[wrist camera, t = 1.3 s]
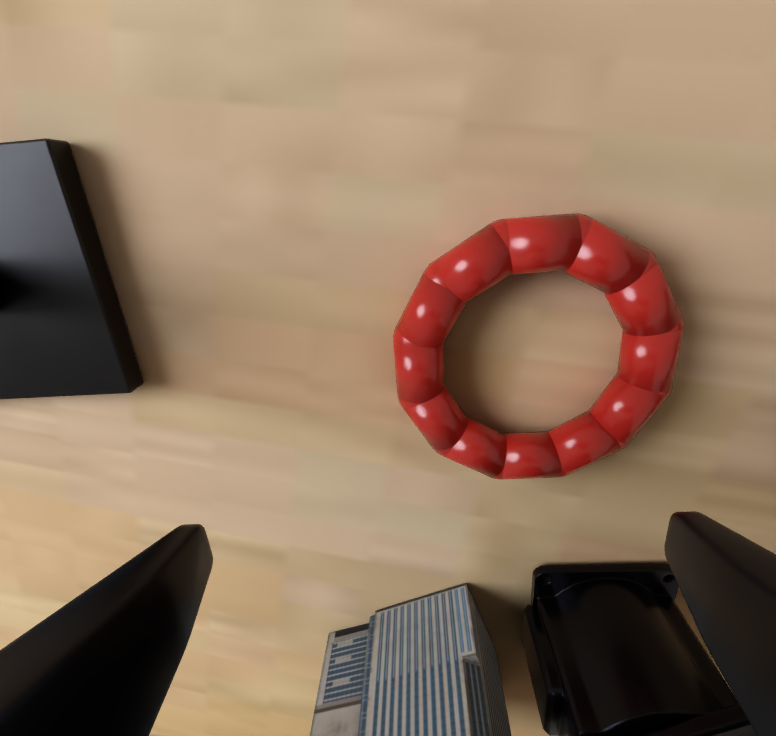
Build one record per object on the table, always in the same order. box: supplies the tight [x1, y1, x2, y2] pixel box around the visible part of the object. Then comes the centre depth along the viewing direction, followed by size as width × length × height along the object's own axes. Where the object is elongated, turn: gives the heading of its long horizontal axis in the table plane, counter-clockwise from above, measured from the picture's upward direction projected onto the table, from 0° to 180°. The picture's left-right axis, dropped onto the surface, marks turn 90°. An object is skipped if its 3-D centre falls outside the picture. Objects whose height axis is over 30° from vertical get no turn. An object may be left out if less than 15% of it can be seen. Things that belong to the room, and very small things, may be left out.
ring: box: [393, 214, 684, 479], centre depth 16 cm, size 10×10×2 cm
